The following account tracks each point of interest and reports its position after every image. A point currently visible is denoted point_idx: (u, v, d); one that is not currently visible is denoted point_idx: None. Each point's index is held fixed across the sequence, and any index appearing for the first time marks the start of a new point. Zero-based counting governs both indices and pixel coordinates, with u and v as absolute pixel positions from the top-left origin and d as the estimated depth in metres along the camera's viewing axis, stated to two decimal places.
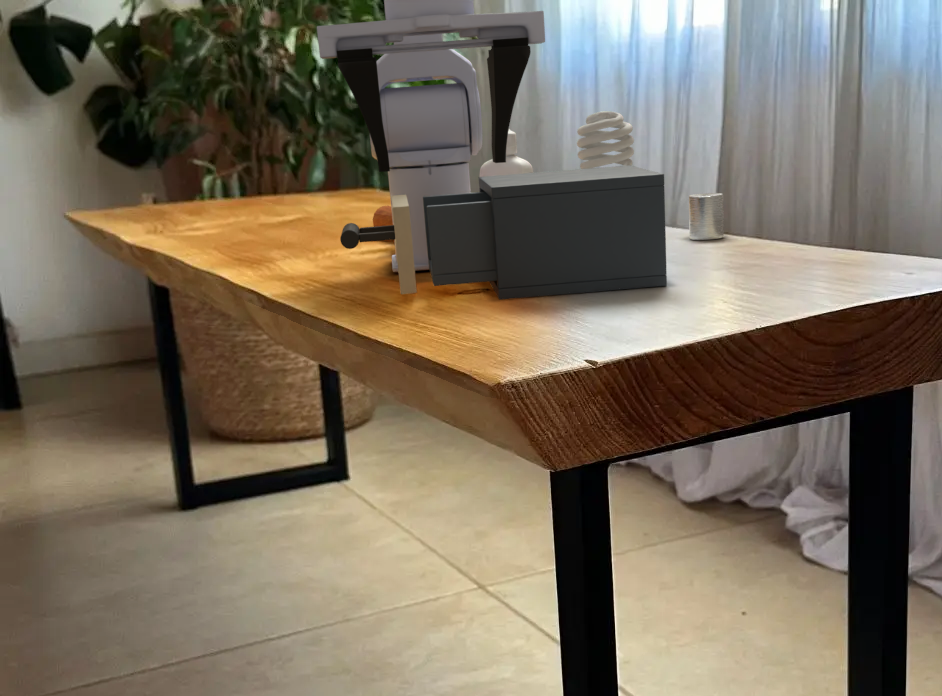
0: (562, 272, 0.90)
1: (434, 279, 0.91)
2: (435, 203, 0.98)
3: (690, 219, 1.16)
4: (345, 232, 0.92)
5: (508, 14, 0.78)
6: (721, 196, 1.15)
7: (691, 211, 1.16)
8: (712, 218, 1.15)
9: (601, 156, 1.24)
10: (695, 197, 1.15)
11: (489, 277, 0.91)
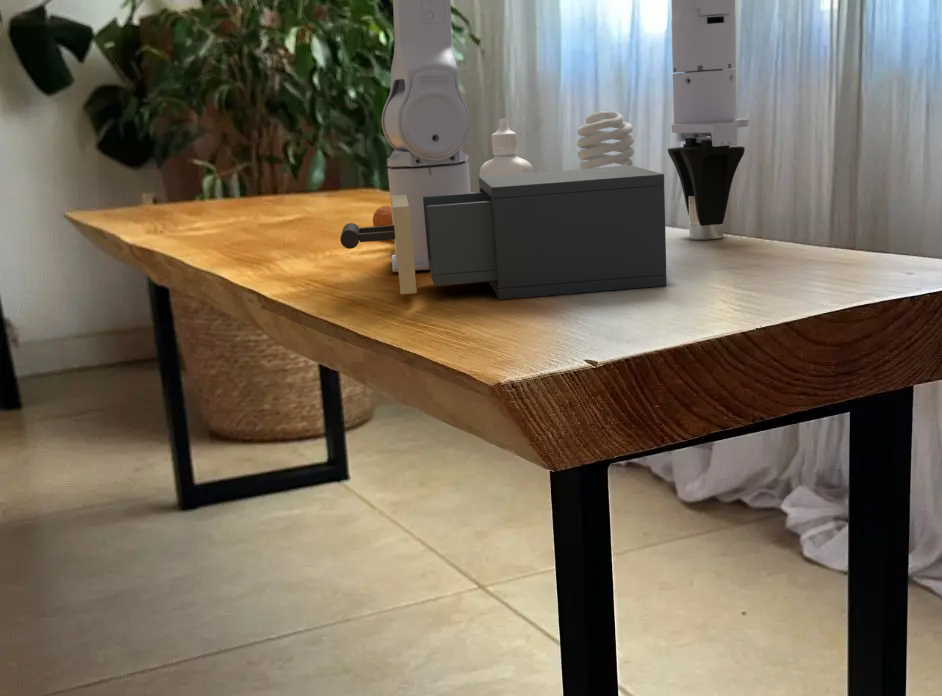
0: (562, 272, 0.90)
1: (434, 279, 0.91)
2: (435, 203, 0.98)
3: (690, 219, 1.16)
4: (345, 232, 0.92)
5: None
6: None
7: (691, 211, 1.16)
8: None
9: (601, 156, 1.24)
10: None
11: (489, 277, 0.91)
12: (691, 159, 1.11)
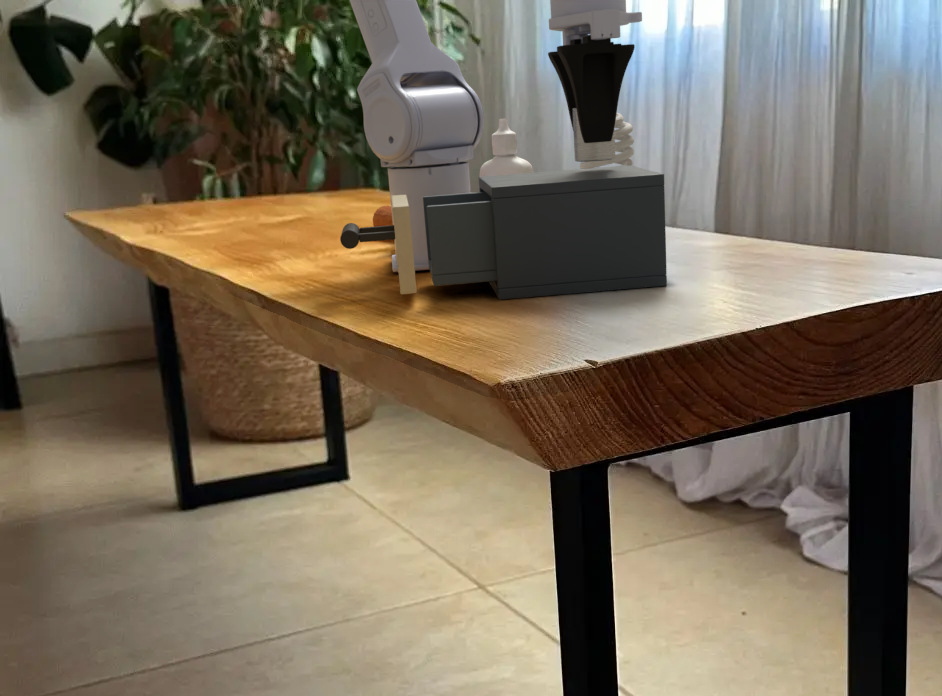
0: (562, 272, 0.90)
1: (434, 279, 0.91)
2: (435, 203, 0.98)
3: (574, 136, 0.96)
4: (345, 232, 0.92)
5: None
6: None
7: (575, 126, 0.95)
8: None
9: None
10: None
11: (489, 277, 0.91)
12: (568, 58, 0.91)
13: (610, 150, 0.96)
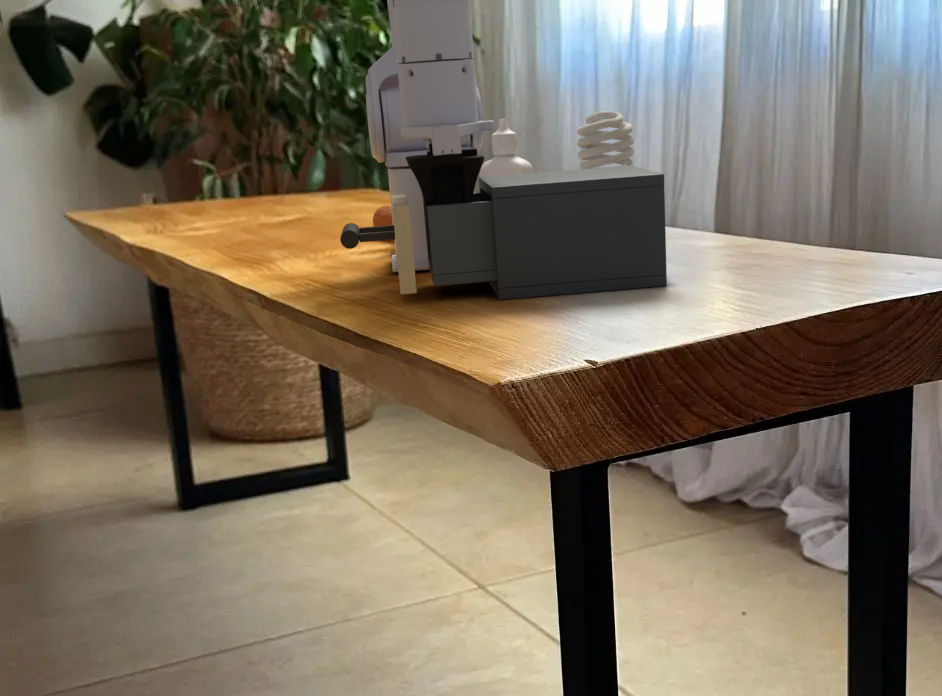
0: (562, 272, 0.90)
1: (434, 279, 0.91)
2: None
3: None
4: (345, 232, 0.92)
5: None
6: None
7: None
8: None
9: (601, 156, 1.24)
10: None
11: (489, 277, 0.91)
12: (415, 171, 0.89)
13: None
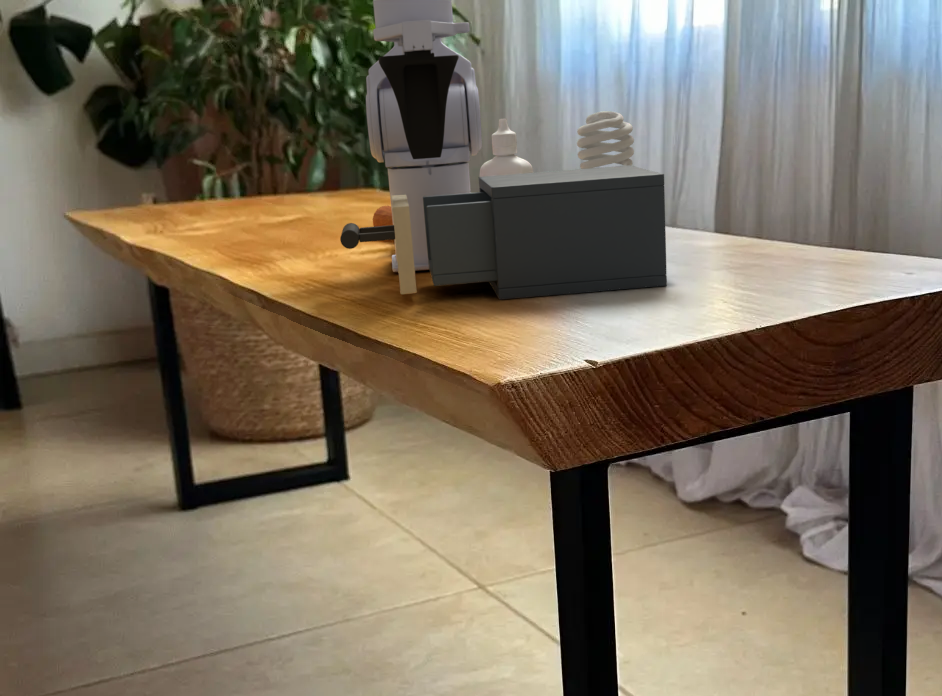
0: (562, 272, 0.90)
1: (434, 279, 0.91)
2: (435, 203, 0.98)
3: None
4: (345, 232, 0.92)
5: None
6: None
7: None
8: None
9: (601, 156, 1.24)
10: None
11: (489, 277, 0.91)
12: (386, 70, 0.85)
13: None
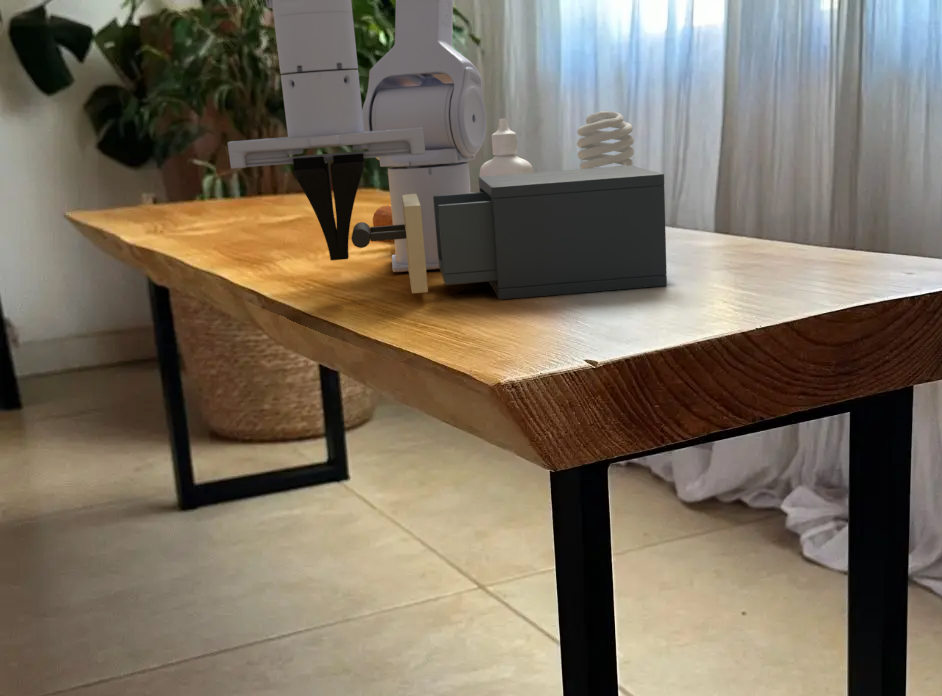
0: (562, 272, 0.90)
1: (445, 278, 0.91)
2: (445, 202, 0.98)
3: None
4: (356, 231, 0.92)
5: (392, 131, 0.91)
6: None
7: None
8: None
9: (601, 156, 1.24)
10: None
11: None
12: None
13: None
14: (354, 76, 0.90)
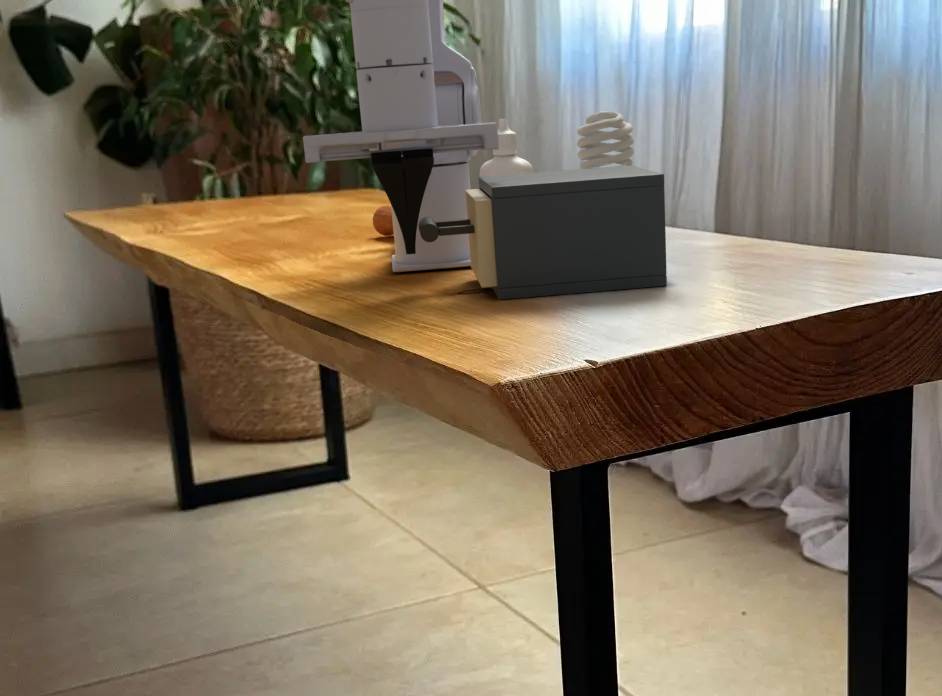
0: (562, 272, 0.90)
1: None
2: None
3: None
4: (425, 226, 0.92)
5: (466, 126, 0.91)
6: None
7: None
8: None
9: (601, 156, 1.24)
10: None
11: None
12: None
13: None
14: (430, 70, 0.90)
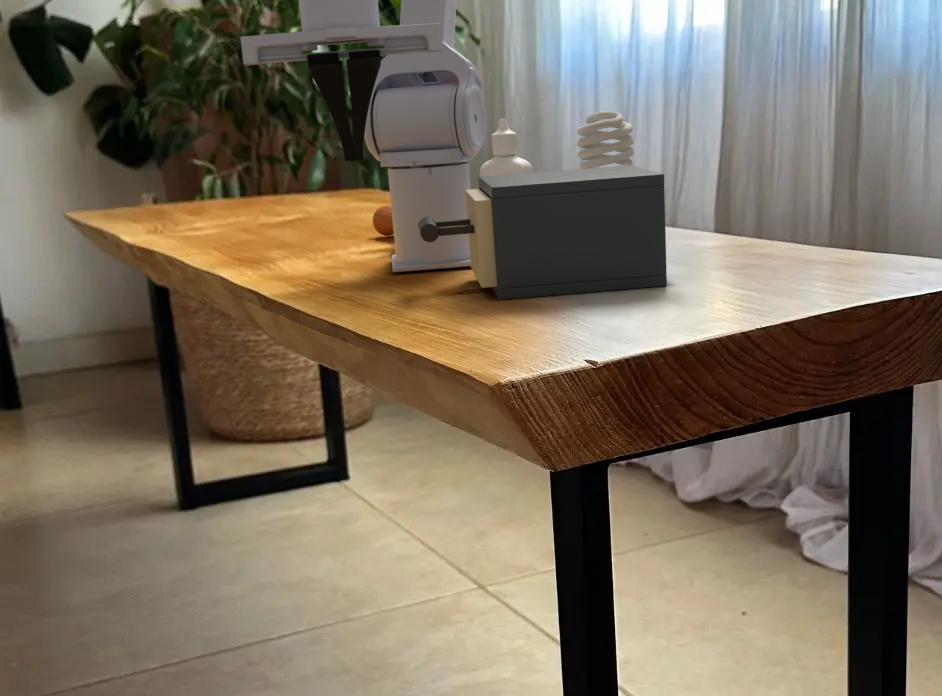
0: (562, 272, 0.90)
1: None
2: None
3: None
4: (425, 226, 0.92)
5: (409, 26, 0.89)
6: None
7: None
8: None
9: (601, 156, 1.24)
10: None
11: None
12: None
13: None
14: None
